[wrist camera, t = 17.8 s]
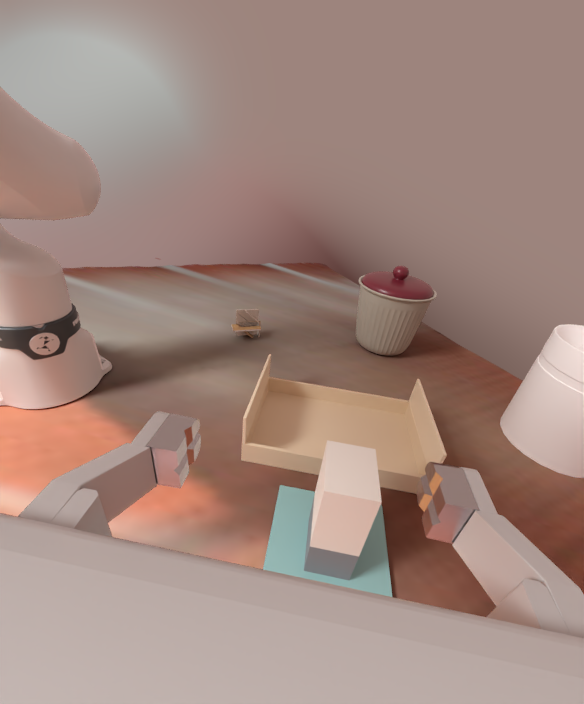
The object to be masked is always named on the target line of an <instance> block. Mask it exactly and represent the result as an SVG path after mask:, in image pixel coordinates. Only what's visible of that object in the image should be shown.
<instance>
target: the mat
mask: <svg viewBox="0 0 584 704" xmlns="http://www.w3.org/2000/svg"><path fill="white" fill-rule="evenodd" d="M314 495H315V492H313V491H308V490H303V489H298V488H293V487H288V486H283V485H280V488H279V493H278V498H277V503H276V508H275V513H274V518H273V523H272V528H271V533H270V538H269V543H268V548H267V553H266V557H265V562H264V567H263V570H268V571H273V572H277V573H282V574H287V575H291V576H296V577H301V578H305V579H310V580H315V581H319V582H324V583H329V584H333V585H338V586H343V587H347V588H352V589H357V590H361V591H366V592H371V593H375V594H380V595H384V596H389V597H392V589H391V580H390V571H389V562H388V553H387V545H386V536H385V527H384V518H383V509H382V505H380V507H379V510H378V512H377V515H376V517H375V519H374V522H373V524H372V527H371V529H370V531H369V534H368V536H367V539H366V541H365V543H364V546H363V548H362V551H361V553H360V555H359V558H358V560H357V563H356V565H355V567H354V570H353V572H352V575H351V577H350V579H349V580H344V579H340V578H335V577H330V576H326V575H321V574H316V573H312V572H307V571H304V563H305V553H306V543H307V533H308V523H309V516H310V512H311V508H312V503H313V499H314Z"/></svg>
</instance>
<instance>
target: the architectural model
mask: <svg viewBox="0 0 584 704" xmlns="http://www.w3.org/2000/svg"><path fill="white" fill-rule="evenodd" d="M258 315H259V309H248V310H236V324H234V325H231V326H232V329H233V331H234V332H236V336H240V335H249V336H250V337H251V338H253V335H255V334H257V335H258V337H260V330H261V328H260V326H261V325H260V323H259V321H258Z"/></svg>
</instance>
